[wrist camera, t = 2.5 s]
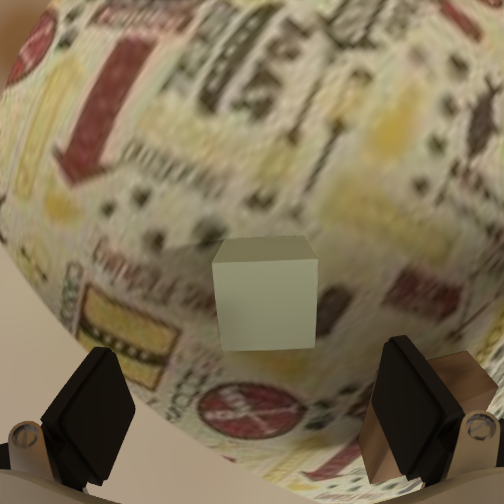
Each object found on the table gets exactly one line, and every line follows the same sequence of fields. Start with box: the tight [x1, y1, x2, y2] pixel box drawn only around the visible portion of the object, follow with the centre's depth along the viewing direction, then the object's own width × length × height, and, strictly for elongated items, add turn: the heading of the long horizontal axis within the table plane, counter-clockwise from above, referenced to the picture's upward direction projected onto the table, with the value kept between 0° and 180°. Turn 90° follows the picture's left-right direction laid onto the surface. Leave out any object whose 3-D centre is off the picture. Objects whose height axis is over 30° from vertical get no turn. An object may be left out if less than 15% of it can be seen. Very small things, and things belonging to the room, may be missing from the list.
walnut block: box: [358, 351, 498, 484], centre depth 19 cm, size 10×10×6 cm
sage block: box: [212, 236, 318, 351], centre depth 17 cm, size 5×5×5 cm
